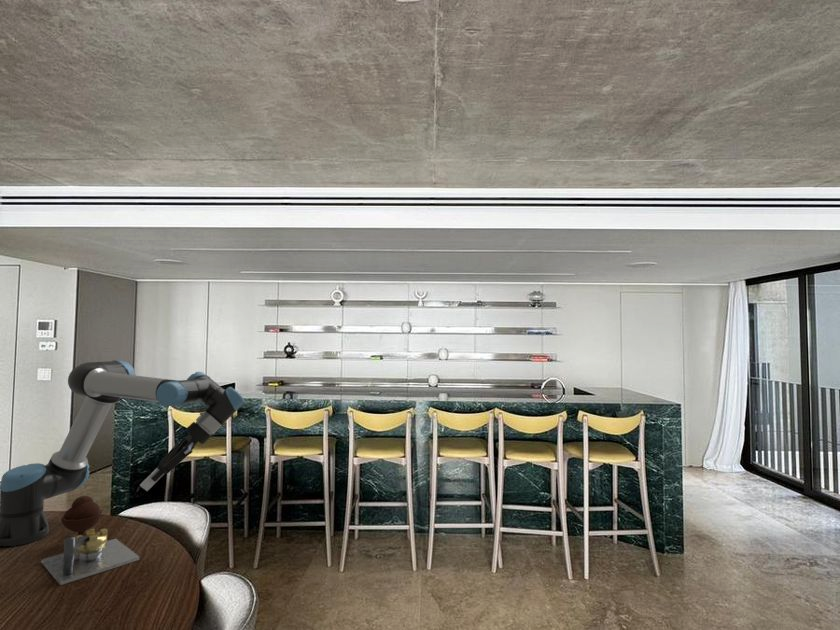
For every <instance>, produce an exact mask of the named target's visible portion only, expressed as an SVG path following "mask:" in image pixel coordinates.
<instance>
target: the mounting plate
mask: <svg viewBox="0 0 840 630" xmlns="http://www.w3.org/2000/svg"><path fill="white" fill-rule="evenodd" d="M63 557H64V552H63V553H60V554H57V555H56V554H55V555H53V556H49V557H45V558H42V559H41V560H40V561H41V564H42V565H43V566H44V568H45V569H46V570H47V571H48V572H49V574H50V575H51V576H52V577H53V579H54V580H55V581H56V582H57V583H58V585H59V586H64V585H66V584H68V583H73V582H76V581H78V580H82V579H85V578H87V577H91V576H94V575H96V574H100V573H103V572H106V571H109V570H112V569H117V568H119V567H122V566H125V565H129V564H131V563H134V562H137V561H140V556H139V555H138V554H137V553H135V552H134V551H133V550H132V549H130V547H127V546H126V545H125V543H122V542H121V541H119V539H117V538H113V539H108V540H107V545H106V546H105V547H104V548H102V549H100V550H97V551H94V552H88V553H78V552H76V551H75V560H74V572H73V573H71V574H67V575H64V574H63Z"/></svg>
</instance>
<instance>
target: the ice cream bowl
mask: <svg viewBox="0 0 840 630" xmlns="http://www.w3.org/2000/svg"><path fill="white" fill-rule="evenodd" d="M102 513H103V510H101V508H100V506H99V505H98V503H96V502H94V499H93V498H92V496H88V495H82V496H79V497H76V498H75V499H74V501H73V502H72V503H71V507H70V508H69V509H68V510H66V511H65V513H64V514H63V516H62V517H61V523H62V525H63V526H64V528H66V529H67V530H69V531H72V532H74V533H77V536H78V535H84V534H86V532H87V530H88V529H92V528H93V527H94V526H95V525H96V524H97V523H98V522H99V519H100V518H101V516H102ZM75 541H76V539H75Z"/></svg>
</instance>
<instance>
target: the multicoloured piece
mask: <svg viewBox="0 0 840 630" xmlns="http://www.w3.org/2000/svg"><path fill="white" fill-rule="evenodd" d="M108 533H109V531H108V529H107V528H101V529H100V531H96V529H95V527H94V528H93V527H92V528H90V529H88V530H86V531H85V533H84V535H78V534H77V535H69V536H67V537H64V539H63V553H64V557H63V574H64V575H67V574H71V573H73V572H74V560H75V551H76V552H78V553H88V552H94V551H97V550H100V549H102V548H104V547H105V546H106V545H107V541H108V535H109V534H108ZM75 540H76V541H75Z"/></svg>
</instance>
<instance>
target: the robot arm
mask: <svg viewBox="0 0 840 630" xmlns="http://www.w3.org/2000/svg"><path fill="white" fill-rule="evenodd" d="M67 384H68V387H69V389H70V390H71V392H73V393H74V394H75V395H78V396H79V397H85V399H84V401H83V403H82V405H81V407H80V409H79V411H78V413H77V414H76V417H75V418H74V421H73V423H72V424H71V425H72V426H71V427H70V429H69V431H68V433H67V435H66V437H65V439H64V441H63V444H62V445H61V448H60V449H59V451H56V452H54V453H52V455H51V457H50V459H49V461H48V463H47V464H44V463H40V462H37V463H29V464H22V465H20V466H19V465H18V466H16V467H14V468H11V469H8V470H7V471H6V472H5V473H3V474H2V476H1V478H0V479H1V480H0V546H4V547H3V548H6V547H5V546H11V547H17V546H16V545H18V546H22V544H23V545H26V543H27V544H29V543H33V542H36V541H38V540H41V539H43V538H45V537H46V536H47V535H48V534H49V532H50V526H49V523H48V522H49V521H48V519H47V517H46V514H45V512H44V505H45V500H47V499H50V498H51V499H52V498H54V497H57V496H61V495H63V494H67V493H70V492H73V491H75V490H76V489H78V488H81V487H82V486H83V485H84V484H86V483H87V481H88V478H89V475H90V473H91V472H90V470H89V469H90V464H89V460H88V457H87V455H88V454H89V452H90V449H91V448H92V446H93V444H94V441H95V440H96V437H97V436H98V433H99V432H100V430H101V427H102V426H103V423H104V421H105V420H106V417H107V415H108V413H109V411H110V410H111V408H112V405H114V404H117V403H118V402H120V400H121V398H123V399H131V400H139V401H147V402H154V403H160V404H161V405H162V406H164V407H176V406H180V405H183V404H189V403H195V402H201V403H203V405H205V406H207V408H206V409H205V410H204V411H203V412H202V411H201V412H200V413H199V416H197V418H195V421H192V422H191V424H190V425H188V426H187V427H186V429H185V431H186V432H187V434H188V435H187V436H185V437H183V438H182V439H179V440H178V441H177V442H176V444H175V445H174V446H173V447H172V448H171V449H170V450H169V451H168V453H166V454H165V455H164V457H163V458H162V459H161V460H160V461H159V462H158V465H157V466H156V468H155V469H154V470H153V471H152V472H151V473H150V474H149V475H148V476H147V477H146V478H145V479H144V480H143V481H142V482H141V483H140V484H139V486H140V487H141V488H142V489H143V490H145V491H146V492H148V491H149V490H151V488H152V487H153V486H154V485H156V483H157V482H158V481H159V480H160V479H161V478H162V477H164V475H165V474H169V473H170V472H171V471H173V470H174V469H175V468H176V467H177V466H178V465H179V464H180V463H181V462H182V461H184V459H185V458H187V457H188V456H189V455H191V454H192V453H193V449H195V446H196V445H197V444H198V443H199V444H200V445H204V444H205V443H206V442H208V440H209V439H210V438H211V435H214V434H215V433H216V432H217V431H218V430H219V429H221V427H222V425H224V424H225V422H228V420H229V419H230V418H231V417H232V416H233V415H234V414H235V413H236V412H237V411H238V410H239V409H240V407H241V406H242V405H243V404H244V402H245V398H244V397H243V396H242V394H241V393H239V391H237V390H236V389H234V387H232V386H228V387H227V388H226V389H225V388H223V387H221V386H220V385H219V384H218V383H217V382H216V381H215V380H213V379H212V378H211V377H210V376H209V375H207V374H205V373H204V372H202V371H195V373H192V374H191V375H190V376H189V377H187V378H186V379H181V380H178V379H168V378H162V377H161V378H159V377H152V376H142V375H137V374H136V371H135V369H134V366H132V365H131V364H130V363H128V361H125V360H116V359H115V360H110V361H108V360H107V361H89V362H88V361H87V362H84V363H80V364H79V365H77V366H75V367H74V368H73V369H72V370H71V371H70V372H69V374H68V378H67Z"/></svg>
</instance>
